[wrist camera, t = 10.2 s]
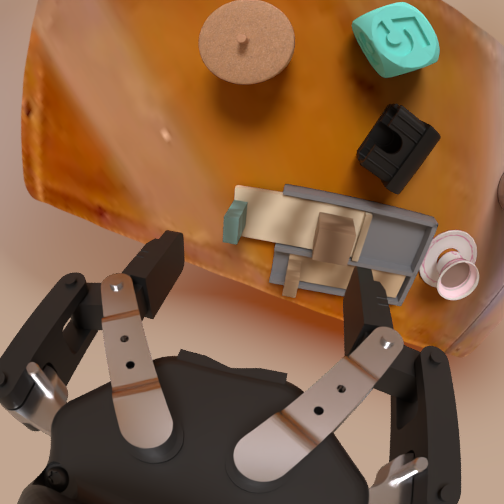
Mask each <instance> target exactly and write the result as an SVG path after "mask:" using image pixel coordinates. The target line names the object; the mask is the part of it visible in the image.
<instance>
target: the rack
mask: <svg viewBox="0 0 504 504" xmlns="http://www.w3.org/2000/svg"><path fill="white" fill-rule="evenodd" d="M283 195H288V196H294V197H299V198H305V199H310V200H315V201H320V202H325V203H330V204H335V205H340V206H345V207H350V208H354V209H359V210H364V211H368V212H371V213H372V220H371V223H370V226H369V229H368V232H367V236H366V239H365V242H364V245H363V248H362V251H361V254H360V257H359V260H358V262H356V261H352V259H351V257H350V258H349V261H348V265H353V266H359V267H364V268H369V269H374V270H379V271H384V272H390V273H395V274H400V275H405V276H406V277H405V279H404V281H403V284H402V286H401V288H400V290H399V292H398V294H397V296H396V298H393V297H387V300H388V304H392V305H397V306H401V305H402V303H403V301H404V299H405V297H406V295H407V293H408V291H409V289H410V287H411V285H412V283H413V281H414V279H415V277H416V275H417V273H418V271H419V269H420V267H421V264H422V262H423V260H424V258H425V256H426V253H427V251H428V249H429V246H430V244H431V242H432V239H433V237H434V234H435V232H436V229H437V227H438V223H437V221H436V220H435V218H434V217H432V216H428V215H425V214H421V213H417V212H413V211H410V210H406V209H402V208H398V207H394V206H390V205H386V204H381V203H377V202H373V201H369V200H364V199H360V198H355V197H351V196H346V195H341V194H336V193H331V192H327V191H321V190H316V189H311V188H306V187H300V186H295V185H289V184H285V187H284V191H283ZM274 251H275V253H274V259H273V265H272V271H271V276H270V280H269V283H275V284H280V285H284V283H285V276H286V271H287V266H288V261H289V256H290V254H295V255H301V256H306V257H311V258H312V251H313V249H307V248H302V247H297V246H292V245H286V244H281V243H276V244H275V249H274ZM298 288H301V289H306V290H312V291H317V292H323V293H328V294H334V295H339V296H344V295H345V291H346V289H342V288H336V287H331V286H325V285H320V284H314V283H309V282H304V281H299V285H298Z"/></svg>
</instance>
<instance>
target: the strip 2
mask: <svg viewBox="0 0 504 504" xmlns="http://www.w3.org/2000/svg"><path fill="white" fill-rule="evenodd" d="M354 267H355V266H353V265H348V264H347V266H342V265H337V264H332V263H327V262H321V261H316V260H312V258H311V257H306V256H301V255H295V254H290V256H289V261H288V266H287V271H286V276H285V283H284V288H283V294H282V295H283V296H288V297H293V298H295V297H296V293H297V289H298V285H299V281H304V282H309V283H314V284H320V285H325V286H331V287H336V288H342V289H347V286H348V283H349V280H350V278H351V275H352V272H353V269H354ZM358 267H359V266H358ZM371 270H372V274H373V279H374V281H379V282H380V283H381V284H382V286H383V287H384V288H385V290H386V294H387V297H393V298H396V296H397V294H398V292H399V290H400V288H401V286H402V284H403V281H404V279H405V277H406V276H405V275H400V274H395V273H390V272H384V271H379V270H374V269H371Z"/></svg>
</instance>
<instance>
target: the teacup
mask: <svg viewBox="0 0 504 504" xmlns="http://www.w3.org/2000/svg"><path fill="white" fill-rule="evenodd" d="M448 248H454V249H456V250H458V252H459V253H458V252H455V251H452V252H448V253H446V254H444V255H443V256H442V257H441V258H440V259H439V261H438V263H437V259H438V257H439V255H440V254H441V252H443V251H444V250H446V249H448ZM476 258H477V246H476V244H475V242H474V239H473V238H472V237H471V236H470V235H469V234H468V233H466V232H463V231H460V230H449V231H446V232H444V233H441V234H439V235H438V236H436V237H435V238H433V239H432V242H431V244H430V246H429V249H428V251H427V253H426V256H425V258H424V260H423V262H422V264H421V267H420V269H419V271H420V276H421V277H422V279H423V280H424V282H425V283H427V284H428V285H430V286H432V287H436V288H437V290H438V293H439V294H440V295H441V296H442V297H443V298H445V299H448V300H458V299H462V298H464V297H466V296H468V295H469V294H470V293H472V292H473V290H474V289H475V288H476V286H477V284H478V281H479V271H478V269H477V267H476V266H475V262H476Z"/></svg>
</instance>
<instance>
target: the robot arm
mask: <svg viewBox="0 0 504 504" xmlns="http://www.w3.org/2000/svg"><path fill="white" fill-rule="evenodd" d="M498 199H499V203H500V205H501V207H502V209H503V210H504V174H503V176H502V178H501V180H500V183H499V187H498ZM183 267H184V239H183V234H182V233H180V232H174V231H169V230H167V231H165V232H164V234H163V235H162V236H161V237H160V238H159V239H153V240H152V241H150V242H148V243H146V245H145V246H144V247H143V248H142V249H141V251H140V252H139V253H138V254H137V256H136V257H134V259H133V260H132V261H131V262H130V263H129V264H128V266H127V267H126V268H125V269H124V271H123V272H122V273H116V274H112V275H109V276H107V277H106V278H105V279H104V280H103V281H102V283H86V280H85V277H84V275H82V274H81V273H70V274H67V275H65V276H63V277H62V278H61V279H60V280H59V281H58V282H57V284H56V285H55V286H54V287H53V288H52V289H51V291H50V292H49V293H48V294H47V296H46V297H45V298H44V299H43V300H42V302H41V303H40V304H39V306H38V307H37V308H36V309H35V311H34V312H33V313H32V315H31V316H30V317H29V318H28V320H27V321H26V322H25V324H24V325H23V326H22V328H21V329H20V331H19V332H18V333H17V335H16V336H15V338H14V339H13V340H12V342H11V343H10V345H9V346H8V348H7V349H6V351H5V352H4V354H3V355H2V356H1V358H0V403H1V405H2V406H3V407H4V408H5V409H6V410H7V411H8V412H9V413H10V414H11V415H12V416H13V417H14V418H16V419H17V420H18V421H20V422H21V423H23V424H24V425H25V426H26V427H27V428H28V429H30V430H32V431H42V432H44V433H45V434H48V435H49V436H51V450H50V456H49V461H48V464H47V466H46V468H45V469H44V470H43V472H42V473H41V474H40V475H39V476H38V477H37V478H36V479H35V480H34V481H33V482H32V483H30V484H29V485H28V486H27V487H26V488H25V489H24V490H23V492H22V494H21V496H20V498H19V501H18V503H17V504H457V503H458V501H459V499H460V495H461V458H460V440H459V429H458V419H457V410H456V403H455V396H454V389H453V383H452V377H451V372H450V367H449V362H448V358H447V356H446V355H445V353H444V352H443V351H442V350H440V349H439V348H437V347H434V346H427V347H425V348H424V349H423V350H422V351H421V352H419V351H416V350H414V349H412V348H409V347H407V346H405V345H404V344H403V339H402V337H401V336H400V334H399V333H398V332H396V331H395V330H394V329H393V324H392V318H391V313H390V308H389V307H388V306H389V304H388V300H387V294H386V290H385V288H384V287H383V286H382V284H381V283H380V282H379V281H374V279H373V274H372V270H371V269H369V268H364V267H358V266H355V267H354V269H353V272H352V275H351V278H350V280H349V283H348V286H347V289H346V291H345V295H344V300H343V313H344V342H345V343H344V345H345V346H344V348H345V356H344V357H343V358H342V359H341V360H340V361H339V362H338V363H336V365H334V366H333V367H332V368H331V369H330V370H329V371H328V372H327V373H326V374H325V375H324V376H322V377H321V378H320V379H319V380H318V381H317V382H316V383H315V384H313V385H312V386H311V387H310V388H309V389H308V390H307V391H305V392H303V391H302V390H301V389H300V388H298V387H297V386H295V385H293V384H292V383H289V382H287V381H286V378H287V373H282V372H277V371H272V370H267V369H261V368H230V367H227V366H225V365H223V364H221V363H219V362H217V361H215V360H213V359H211V358H209V357H207V356H205V355H200V354H197V353H193V352H189V351H186V350H182V349H181V350H180V352H179V354H178V356H167V357H161V358H158V359H155V360H152V358H151V354H150V351H149V347H148V343H147V340H146V336H145V333H144V329H143V325H142V320H143V318H144V317H147V318H150V319H154V317H155V315H156V313H157V312H158V310H159V309H160V307H161V305H162V304H163V302H164V300H165V298H166V297H167V295H168V294H169V292H170V290H171V289H172V287H173V285H174V284H175V282H176V280H177V279H178V277H179V276H180V274H181V272H182V270H183ZM69 318H71V320H70V322H69V323H68V324H67V326H66V328H65V329H64V330H63V327H64V325H65V324H66V322H67V321H68V319H69ZM98 330H103V337H104V344H105V351H106V357H107V363H108V367H109V374H110V380H111V381H110V382H108V383H106V384H104V385H102V386H100V387H98V388H96V389H94V390H92V391H90V392H88V393H86V394H84V395H82V396H80V397H78V398H76V399H74V400H71V401H69V402H68V403H67V398H68V390H67V387H66V386H67V384H68V382H69V380H70V379H71V377H72V375H73V373H74V371H75V370H76V368H77V365H78V364H79V362H80V361H81V359H82V357H83V355H84V354H85V352H86V350H87V348H88V347H89V345H90V343H91V342H92V340H93V338H94V337H95V335H96V333H97V332H98ZM373 388H375V389H377V390H379V391H382V392H385V393H387V394H389V395H391V435H390V436H391V437H390V456H389V463H387V464H386V465H384V466H383V467H381V469H380V470H379V471H378V473H377V475H376V479H375V482H374V484H373V485H372V487H371V488H368V485H367V482H366V480H365V478H364V477H363V475H362V474H361V473H360V471H359V469H358V468H357V467H356V465H355V464H354V462H353V461H352V460H351V458H350V457H349V455H348V454H347V452H346V451H345V449H344V448H343V446H342V445H341V443H340V442H339V441H338V439H337V438H336V436H335V435H334V432H335V431H336V430H337V428H338V427H339V426H340V425H341V424H342V423H343V422H344V421H345V420H346V419H347V418H348V417H349V416H350V415H351V413H352V412H353V411H354V410H355V409H356V408H357V407H358V406H359V404H360V403H361V402H362V401H363V400H364V399H365V398H366V397H367V395H368V394H369V393H370V392H371V391H372V389H373Z"/></svg>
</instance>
